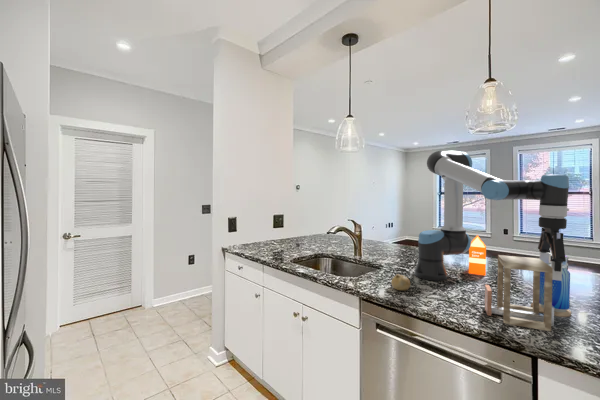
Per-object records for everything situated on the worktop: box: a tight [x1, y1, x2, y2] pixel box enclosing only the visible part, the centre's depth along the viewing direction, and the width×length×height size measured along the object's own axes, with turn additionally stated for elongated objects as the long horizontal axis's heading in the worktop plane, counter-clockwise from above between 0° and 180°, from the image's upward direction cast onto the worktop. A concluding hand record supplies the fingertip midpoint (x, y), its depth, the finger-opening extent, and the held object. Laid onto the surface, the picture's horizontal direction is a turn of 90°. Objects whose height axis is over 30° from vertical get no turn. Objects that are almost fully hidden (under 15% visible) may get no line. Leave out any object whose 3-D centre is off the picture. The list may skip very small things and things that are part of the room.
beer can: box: [539, 263, 571, 312], centre depth 102 cm, size 8×8×16 cm
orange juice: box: [468, 234, 487, 276], centre depth 150 cm, size 8×9×20 cm
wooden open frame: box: [496, 254, 553, 332], centre depth 95 cm, size 12×14×20 cm
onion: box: [391, 273, 411, 292], centre depth 124 cm, size 8×8×7 cm
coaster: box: [530, 302, 572, 318], centre depth 102 cm, size 11×11×1 cm
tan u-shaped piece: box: [484, 284, 555, 327], centre depth 96 cm, size 18×7×9 cm, turn 62°
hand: (549, 274), depth 102 cm, fingers open, 13 cm apart
